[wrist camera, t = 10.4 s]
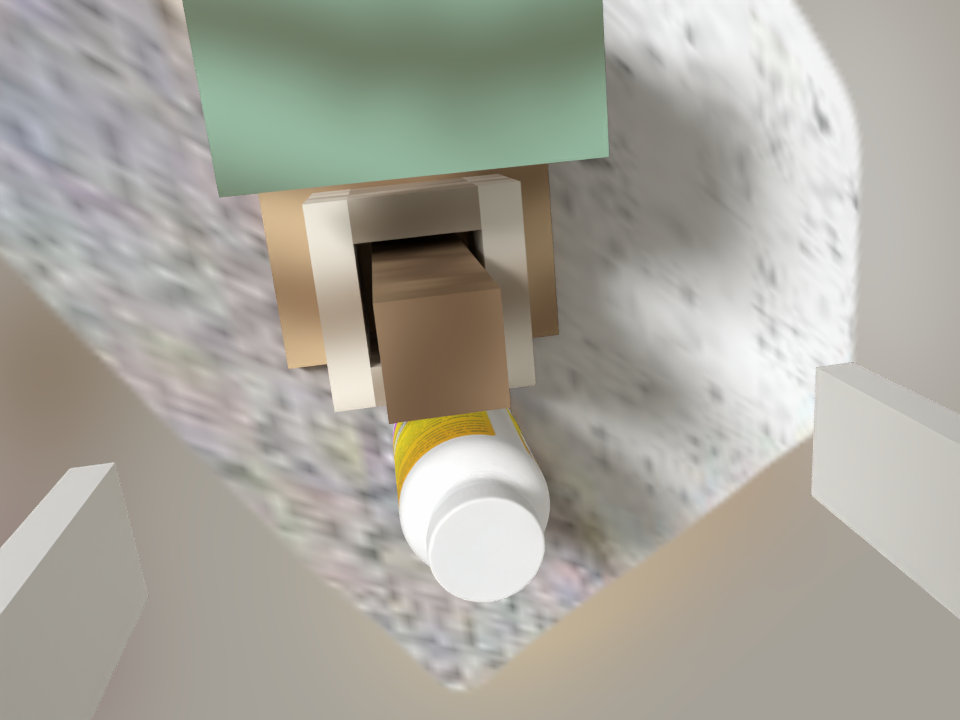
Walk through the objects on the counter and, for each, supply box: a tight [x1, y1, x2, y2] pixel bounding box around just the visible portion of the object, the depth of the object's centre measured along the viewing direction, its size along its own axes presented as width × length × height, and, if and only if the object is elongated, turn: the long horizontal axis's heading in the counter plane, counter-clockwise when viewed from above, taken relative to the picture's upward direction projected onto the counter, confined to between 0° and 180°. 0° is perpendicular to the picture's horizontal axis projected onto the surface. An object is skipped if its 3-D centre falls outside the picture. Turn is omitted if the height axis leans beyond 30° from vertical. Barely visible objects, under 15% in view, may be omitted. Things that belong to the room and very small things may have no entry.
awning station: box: [182, 0, 609, 412], centre depth 32 cm, size 19×14×13 cm
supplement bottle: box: [393, 408, 550, 602], centre depth 37 cm, size 7×7×13 cm
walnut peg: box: [372, 233, 511, 424], centre depth 32 cm, size 4×4×15 cm
